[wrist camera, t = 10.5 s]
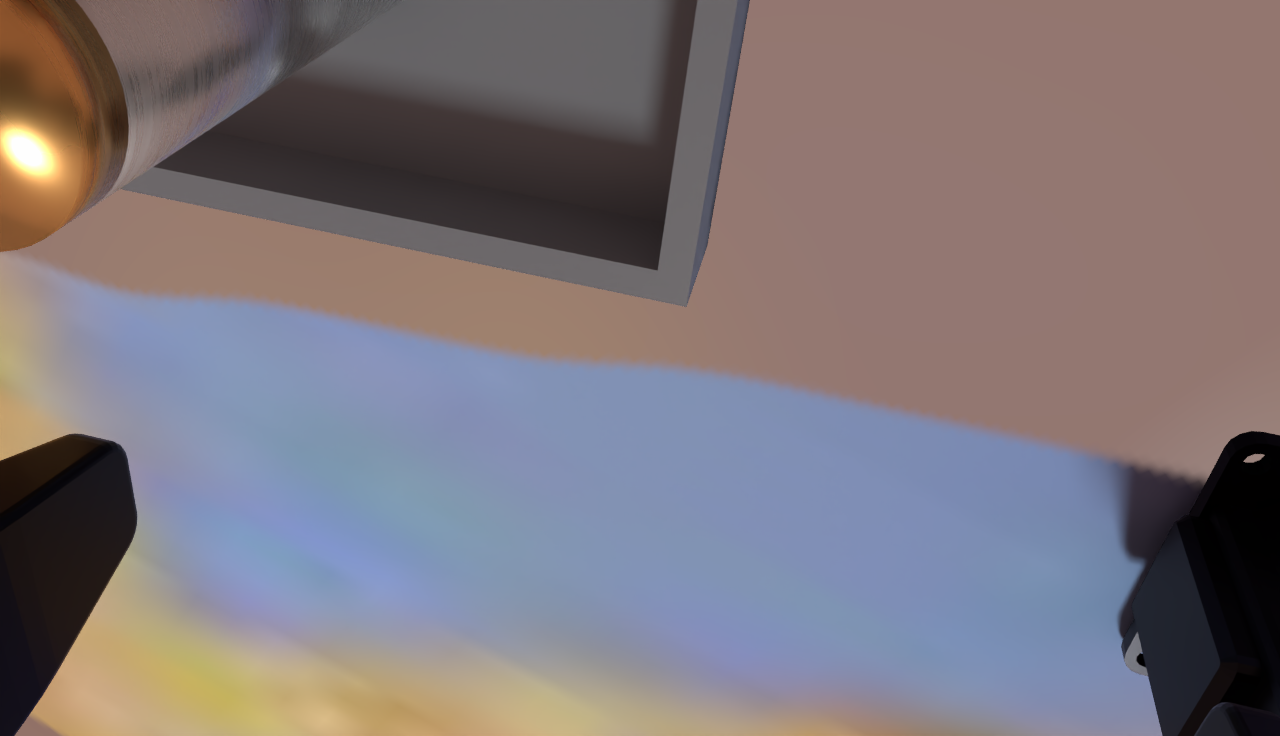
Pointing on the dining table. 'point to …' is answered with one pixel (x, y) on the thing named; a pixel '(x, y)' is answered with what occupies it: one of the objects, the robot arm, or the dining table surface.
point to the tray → (496, 138)
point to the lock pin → (135, 88)
